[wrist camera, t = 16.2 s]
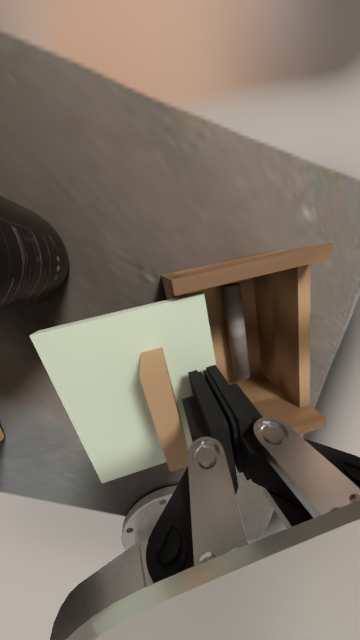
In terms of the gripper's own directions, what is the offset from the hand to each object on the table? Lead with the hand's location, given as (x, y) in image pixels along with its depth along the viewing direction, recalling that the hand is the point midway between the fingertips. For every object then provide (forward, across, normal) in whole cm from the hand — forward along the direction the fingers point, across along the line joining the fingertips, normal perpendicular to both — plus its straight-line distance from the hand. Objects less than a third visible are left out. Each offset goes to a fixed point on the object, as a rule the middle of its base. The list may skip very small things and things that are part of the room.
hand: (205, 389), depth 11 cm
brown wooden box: (+8, -4, 0) cm, 9 cm away
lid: (+1, +3, 0) cm, 4 cm away
